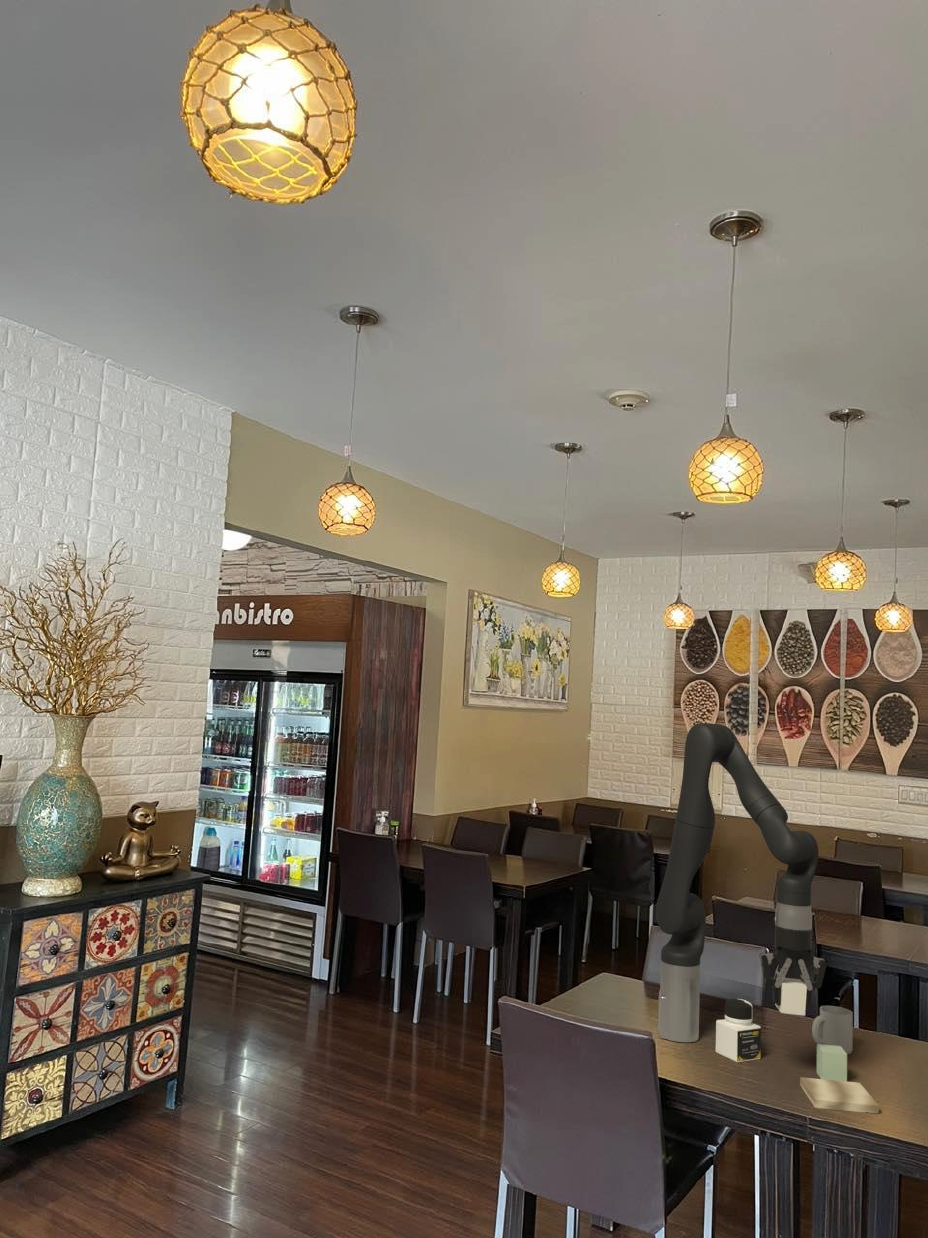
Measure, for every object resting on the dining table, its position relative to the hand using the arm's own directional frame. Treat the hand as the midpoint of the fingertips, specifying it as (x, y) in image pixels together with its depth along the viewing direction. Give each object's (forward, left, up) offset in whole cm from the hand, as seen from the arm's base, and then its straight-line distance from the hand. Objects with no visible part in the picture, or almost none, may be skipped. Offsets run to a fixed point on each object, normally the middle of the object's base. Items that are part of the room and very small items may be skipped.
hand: (791, 1005), depth 199 cm
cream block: (0, +1, -1) cm, 2 cm away
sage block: (+9, +3, -15) cm, 18 cm away
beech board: (+7, -9, -15) cm, 19 cm away
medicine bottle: (-9, +12, -15) cm, 21 cm away
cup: (+14, +22, -15) cm, 30 cm away
